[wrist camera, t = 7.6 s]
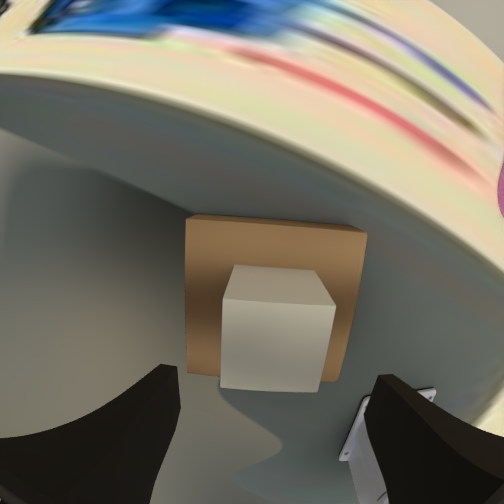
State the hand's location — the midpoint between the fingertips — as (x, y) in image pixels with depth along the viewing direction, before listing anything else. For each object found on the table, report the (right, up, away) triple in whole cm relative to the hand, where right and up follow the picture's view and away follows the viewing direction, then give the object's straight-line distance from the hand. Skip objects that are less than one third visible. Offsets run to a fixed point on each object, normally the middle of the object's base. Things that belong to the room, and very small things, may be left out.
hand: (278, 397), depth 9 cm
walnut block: (0, +2, +10) cm, 10 cm away
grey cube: (0, +2, +7) cm, 7 cm away
